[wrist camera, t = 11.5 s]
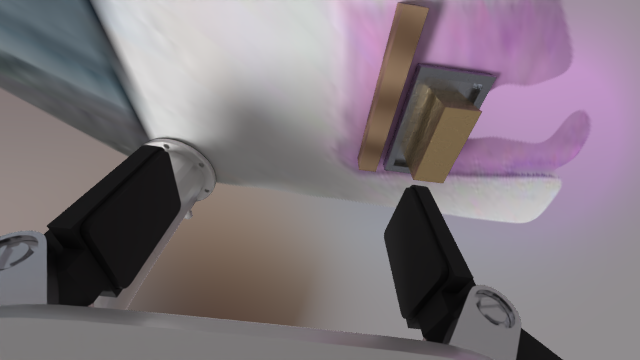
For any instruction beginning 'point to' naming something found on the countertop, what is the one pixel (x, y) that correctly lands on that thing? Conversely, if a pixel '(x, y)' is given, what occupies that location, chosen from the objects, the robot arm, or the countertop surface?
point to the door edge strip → (391, 81)
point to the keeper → (423, 80)
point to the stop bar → (439, 134)
